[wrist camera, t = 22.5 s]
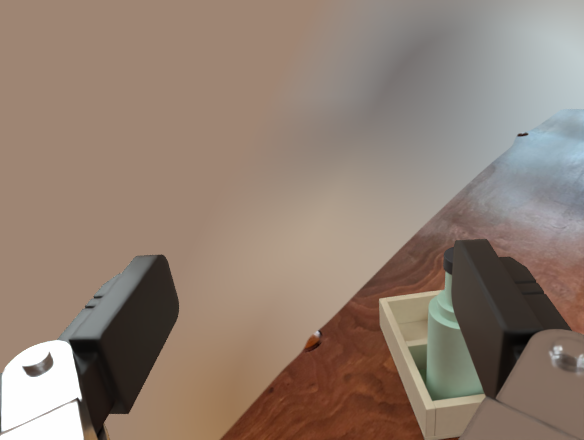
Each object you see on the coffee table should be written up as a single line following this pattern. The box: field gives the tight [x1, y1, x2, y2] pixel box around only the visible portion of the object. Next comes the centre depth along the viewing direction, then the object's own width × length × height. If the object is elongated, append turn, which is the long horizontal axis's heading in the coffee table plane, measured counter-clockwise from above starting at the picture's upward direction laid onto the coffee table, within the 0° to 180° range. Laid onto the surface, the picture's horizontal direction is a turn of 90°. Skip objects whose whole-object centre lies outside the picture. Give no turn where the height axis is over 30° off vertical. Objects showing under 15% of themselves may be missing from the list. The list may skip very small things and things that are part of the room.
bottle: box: [426, 247, 485, 402], centre depth 38 cm, size 5×5×15 cm
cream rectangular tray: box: [379, 290, 486, 440], centre depth 44 cm, size 8×16×4 cm, turn 4°
